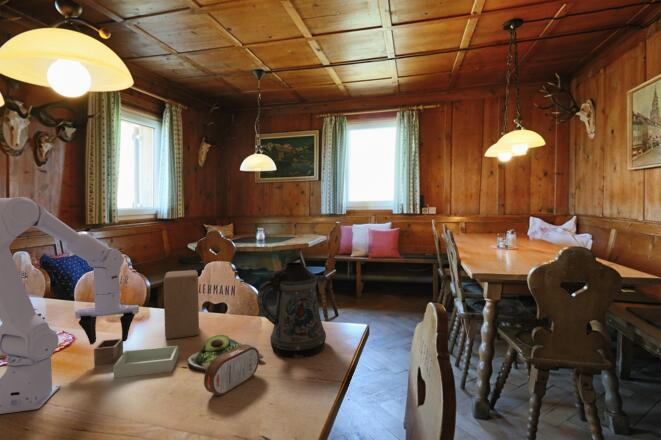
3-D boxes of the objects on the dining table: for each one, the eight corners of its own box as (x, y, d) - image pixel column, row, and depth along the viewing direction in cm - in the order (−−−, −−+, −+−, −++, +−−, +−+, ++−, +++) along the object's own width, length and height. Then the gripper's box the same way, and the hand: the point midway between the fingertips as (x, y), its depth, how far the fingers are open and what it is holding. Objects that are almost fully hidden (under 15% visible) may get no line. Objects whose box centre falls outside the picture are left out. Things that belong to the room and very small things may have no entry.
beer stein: (336, 343, 105) (336, 262, 104) (296, 369, 89) (295, 272, 88) (294, 332, 114) (293, 257, 113) (250, 353, 98) (249, 266, 97)
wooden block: (199, 336, 112) (197, 274, 111) (164, 340, 108) (163, 277, 107) (198, 326, 121) (197, 269, 120) (167, 330, 117) (165, 271, 116)
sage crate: (172, 371, 88) (172, 359, 88) (114, 377, 85) (113, 365, 85) (178, 355, 97) (178, 345, 97) (125, 361, 94) (125, 350, 93)
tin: (252, 371, 88) (251, 338, 88) (261, 374, 87) (261, 341, 86) (203, 399, 75) (202, 361, 75) (212, 403, 74) (212, 365, 73)
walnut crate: (116, 365, 92) (115, 347, 91) (94, 367, 90) (93, 349, 90) (123, 355, 97) (122, 338, 97) (103, 357, 96) (102, 340, 96)
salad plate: (276, 351, 101) (276, 335, 101) (243, 381, 84) (242, 362, 84) (220, 343, 107) (220, 328, 107) (178, 369, 90) (177, 352, 90)
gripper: (141, 286, 99) (142, 333, 99) (82, 290, 95) (84, 338, 96) (133, 293, 92) (135, 343, 93) (70, 297, 88) (72, 349, 89)
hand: (109, 341), depth 94 cm, fingers open, 7 cm apart
